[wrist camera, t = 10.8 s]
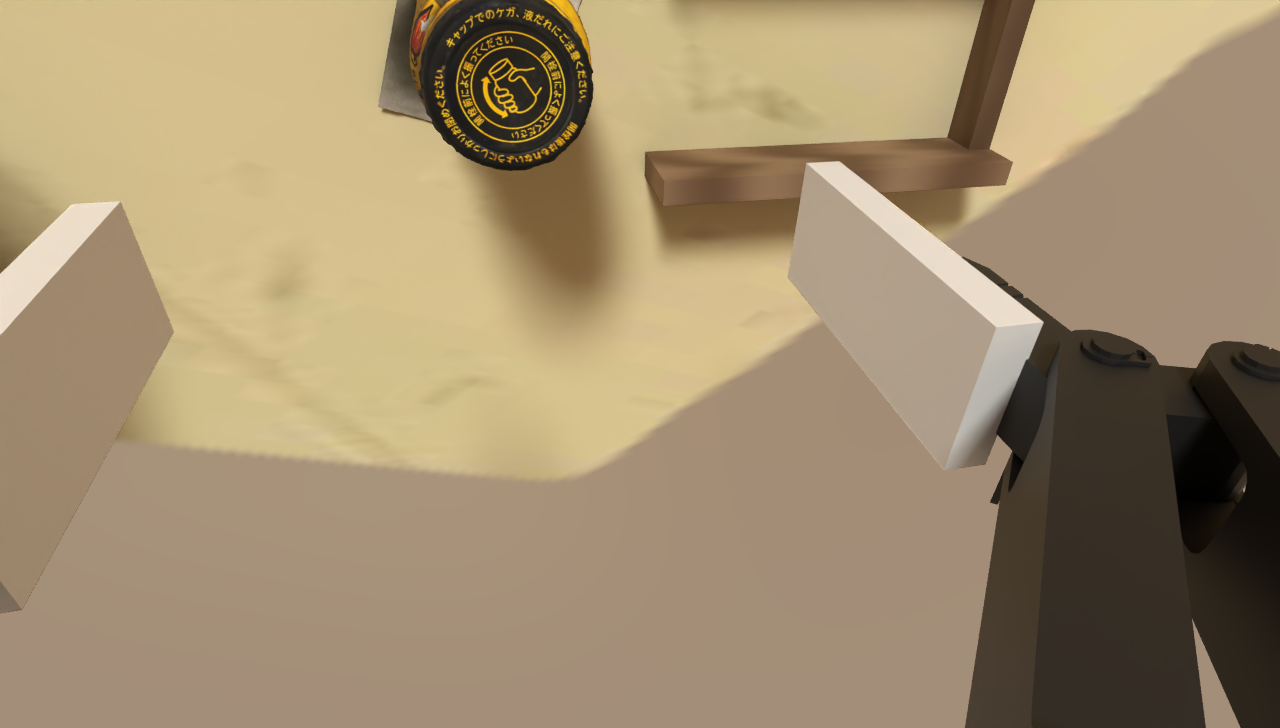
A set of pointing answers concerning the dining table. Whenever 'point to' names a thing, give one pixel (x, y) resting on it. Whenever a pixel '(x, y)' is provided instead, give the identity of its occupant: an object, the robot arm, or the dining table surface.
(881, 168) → the walnut shelf lane
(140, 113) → the dining table surface
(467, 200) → the dining table surface
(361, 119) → the dining table surface
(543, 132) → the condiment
